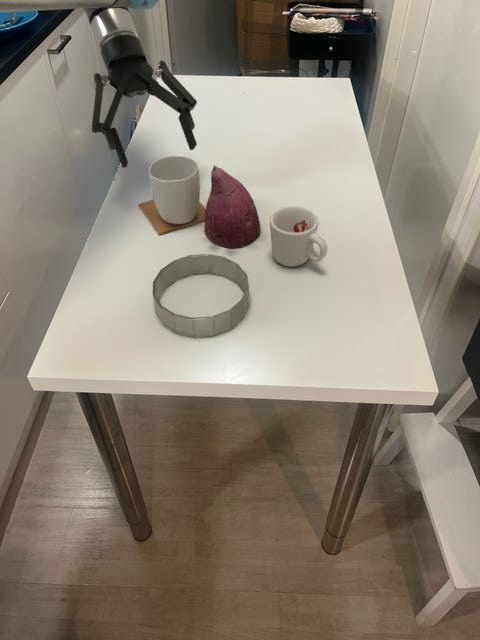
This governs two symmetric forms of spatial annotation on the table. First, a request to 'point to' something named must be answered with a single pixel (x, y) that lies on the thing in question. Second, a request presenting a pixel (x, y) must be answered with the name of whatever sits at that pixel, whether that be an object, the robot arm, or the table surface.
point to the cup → (295, 236)
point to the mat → (162, 225)
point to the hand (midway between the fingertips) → (160, 156)
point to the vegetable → (230, 212)
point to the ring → (201, 266)
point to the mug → (175, 188)
